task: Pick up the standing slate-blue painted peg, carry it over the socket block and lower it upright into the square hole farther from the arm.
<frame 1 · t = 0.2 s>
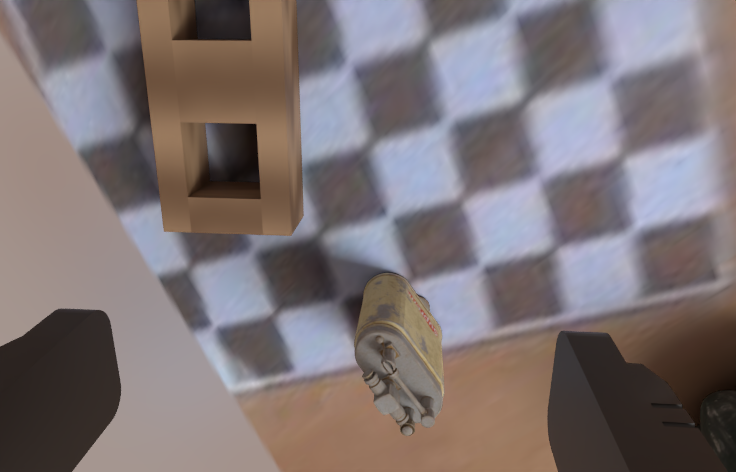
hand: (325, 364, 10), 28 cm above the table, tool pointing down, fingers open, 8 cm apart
lighter: (405, 312, 41), on the table
socket block: (235, 77, 37), on the table
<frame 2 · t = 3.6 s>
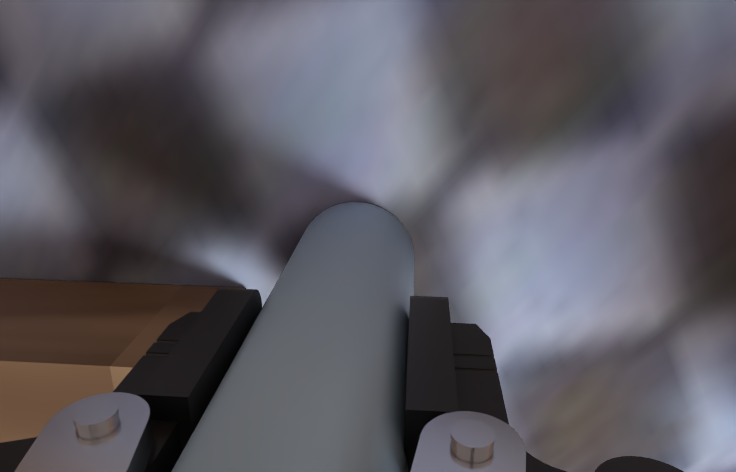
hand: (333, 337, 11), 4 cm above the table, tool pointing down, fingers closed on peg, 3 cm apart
peg: (356, 257, 15), on the table, touching gripper
when the fingers open (6 cm above the table, at t = 8.1 s): peg drops 1 cm, resting in socket block.
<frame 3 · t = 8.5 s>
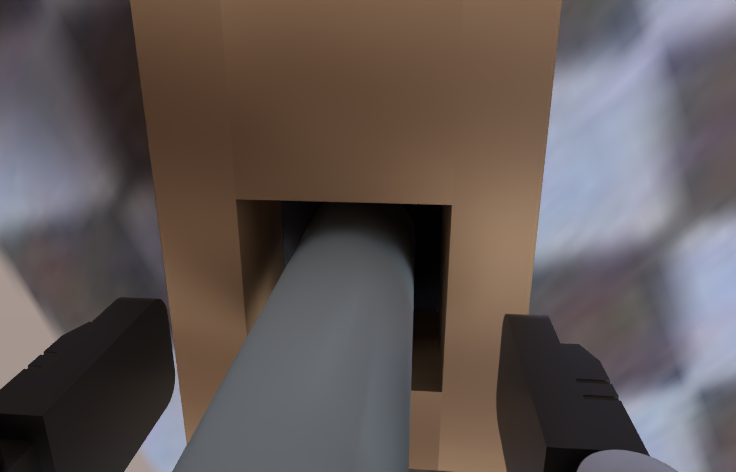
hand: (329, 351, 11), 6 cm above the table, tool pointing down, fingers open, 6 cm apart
peg: (362, 238, 17), resting in socket block
socket block: (360, 73, 15), on the table
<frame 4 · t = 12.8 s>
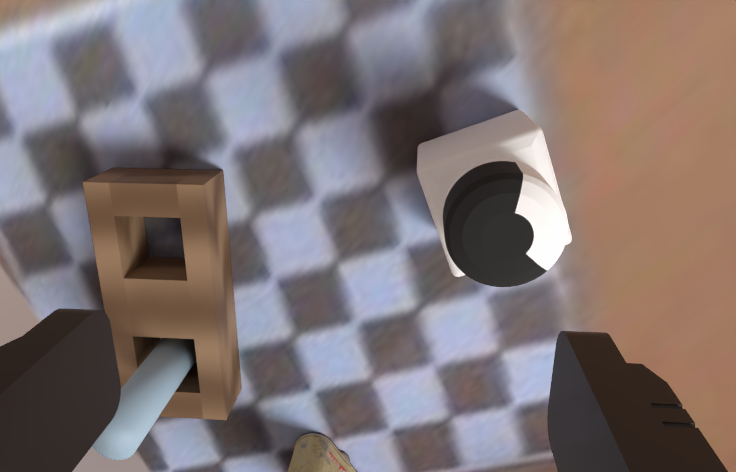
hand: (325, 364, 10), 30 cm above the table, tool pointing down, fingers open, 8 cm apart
medicine bottle: (482, 175, 40), on the table
peg: (188, 337, 46), resting in socket block
lighter: (330, 461, 49), on the table
socket block: (181, 285, 44), on the table
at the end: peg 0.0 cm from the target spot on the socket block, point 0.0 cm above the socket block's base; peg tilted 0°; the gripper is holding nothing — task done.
